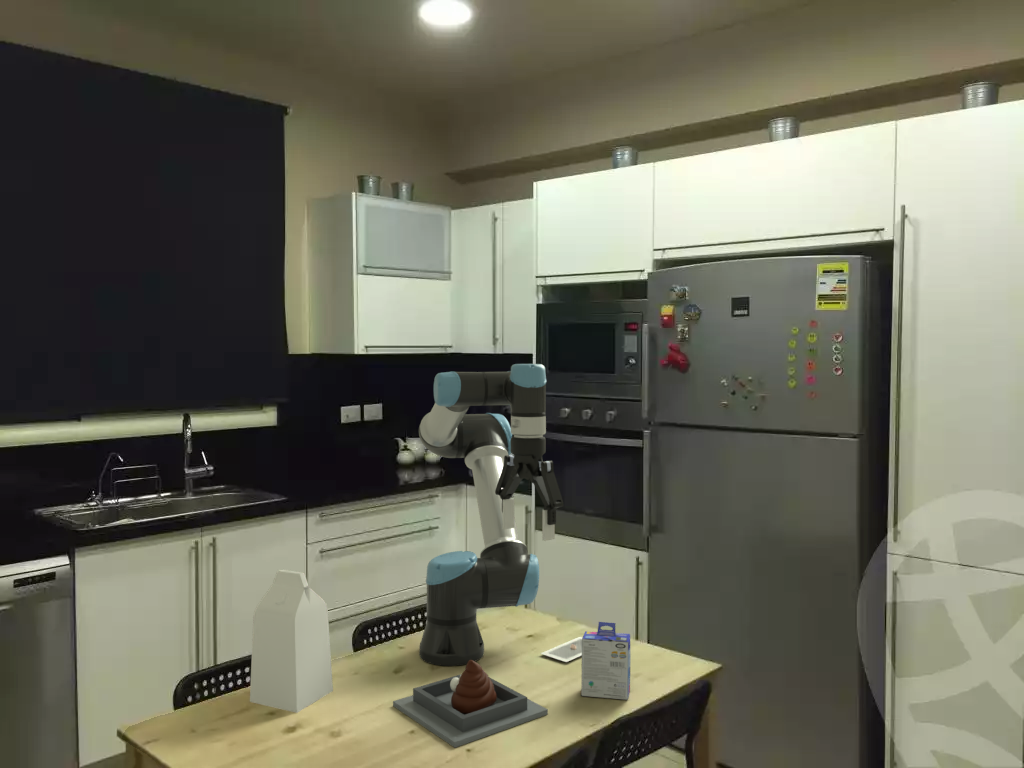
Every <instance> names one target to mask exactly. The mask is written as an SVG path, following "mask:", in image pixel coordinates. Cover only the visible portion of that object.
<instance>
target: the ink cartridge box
mask: <svg viewBox="0 0 1024 768" xmlns="http://www.w3.org/2000/svg"><path fill="white" fill-rule="evenodd" d="M602 627H610V628H612V629H602ZM580 692H581V694H580V696H582V697H588V698H589V697H590V698H591V697H592V698H601V699H602V698H603V699H604V698H605V699H614V700H615V699H616V700H629V696H630V693H631V634H630V633H621V632H616V623H615V622H604V621H598V626H597V631H588V630H587V631H584V633H583V636H582V655H581V691H580Z"/></svg>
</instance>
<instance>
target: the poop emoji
mask: <svg viewBox="0 0 1024 768" xmlns="http://www.w3.org/2000/svg"><path fill="white" fill-rule="evenodd" d="M459 675H460V674H459ZM490 678H491V677H490ZM490 678H489V675H488V673H487V672H486V671H485V669H483V667H482V666H481V665H480V663H477V661H473V660H469V661H468V663H467V664H465V669H464V670H463V672H462V673H461V675H460V677H459V678H457V677H455V678H453V679H452V680H451V682H450V687H451V689H452V690H453V691H454V693H453V695H452V698H451V704H452V707H453V708H454V709H455V710H457V711H459V712H460V713H464V714H469V713H472V712H475V711H478V710H481V709H484V708H487V707H489V706H491V705H493V704H494V703H495V702H496V698H497V696H496V692H495V690H494V686H493V683H492V681H491V679H490Z"/></svg>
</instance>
